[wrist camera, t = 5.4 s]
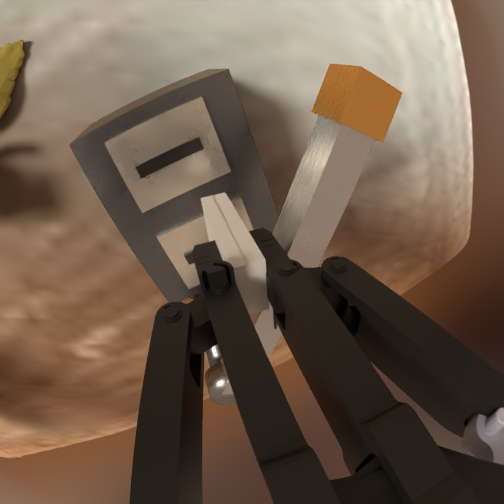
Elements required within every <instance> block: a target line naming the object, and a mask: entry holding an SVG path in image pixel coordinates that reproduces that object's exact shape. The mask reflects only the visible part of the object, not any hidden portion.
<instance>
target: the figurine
mask: <svg viewBox="0 0 504 504" xmlns="http://www.w3.org/2000/svg"><path fill="white" fill-rule="evenodd" d="M23 43H24V42H23V40H19V41H17V42H14V43H7V44H6V45H5V46H4V47H1V48H0V118H1V117H2V115H3V114H4V112H5V111H6V109H7V107H8V105H9V104H10V101H11V97H10V94H11V92H12V90H13V88H14V86H15V81H13V80H14V79H15V78H16V77H17V75H18V72H19V70H17V69H20V67H21V66H22V64H23V58H24V57H25V53H24V51H23Z"/></svg>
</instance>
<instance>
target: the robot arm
mask: <svg viewBox="0 0 504 504" xmlns="http://www.w3.org/2000/svg"><path fill="white" fill-rule="evenodd" d="M201 203H202V208H203V213H204V218H205V223H206V228H207V233H208V238H209V242H206V243H202V244H198V245H195V246H194V249H193V251H192V254H193V258H194V262H195V266H196V270H197V274H198V278H199V281H200V285H201V292H200V294H199V295H198V297H197V298H196V299H195V300H193V301H192V302H190V303H188V304H184V303H182V302H170V303H167V304H165V305H163V306H162V307H161V308H160V309H159V310H158V311H157V313H156V316H155V321H154V326H153V331H152V336H151V341H150V346H149V352H148V357H147V363H146V369H145V375H144V381H143V387H142V393H141V400H140V407H139V414H138V422H137V430H136V438H135V446H134V447H135V448H134V456H133V466H132V477H131V491H130V504H202V418H203V416H202V415H203V379H204V352H205V351H207V350H209V349H210V348H212V347H214V346H215V345H217V344H218V347H219V350H220V353H221V357H222V360H223V363H224V366H225V369H226V373H227V376H228V379H229V382H230V385H231V388H232V391H233V394H234V397H235V400H236V403H237V406H238V409H239V411H240V415H241V418H242V420H243V423H244V426H245V429H246V432H247V434H248V437H249V440H250V443H251V446H252V448H253V451H254V453H255V456H256V459H257V462H258V464H259V467H260V470H261V472H262V475H263V477H264V480H265V482H266V485H267V487H268V490H269V493H270V495H271V498H272V500H273V503H274V504H504V373H501V372H499V371H496V370H495V369H494V368H492V367H491V366H490V365H489V364H487V363H486V362H485V361H484V360H483V359H481V358H480V357H479V356H477V355H476V354H475V353H474V352H473V351H471V350H470V349H469V348H468V347H466V346H465V345H464V344H463V343H461V342H460V341H459V340H458V339H456V338H455V337H453V336H452V335H451V334H450V333H449V332H447V331H446V330H445V329H443V328H442V327H440V326H439V325H438V324H437V323H436V322H434V321H433V320H432V319H430V318H429V317H428V316H426V315H425V314H424V313H422V312H421V311H420V310H418V309H417V308H416V307H414V306H413V305H412V304H410V303H409V302H407V301H406V300H405V299H403V298H402V297H401V296H399V295H398V294H397V293H395V292H394V291H392V290H391V289H390V288H388V287H387V286H385V285H384V284H383V283H381V282H380V281H378V280H377V279H376V278H374V277H373V276H371V275H370V274H369V273H367V272H366V271H364V270H363V269H362V268H360V267H359V266H357V265H356V264H354V263H353V262H351V261H350V260H348V259H346V258H344V257H339V256H334V257H330V258H327V259H326V260H324V261H323V264H322V267H315V268H306V267H303V266H302V265H301V264H300V263H299V262H298V261H295V260H292V259H290V258H289V257H288V255H287V254H286V252H285V251H284V250H283V248H282V247H281V245H280V244H279V243H278V241H277V240H276V239H275V237H274V235H273V234H272V233H271V232H270V231H269V230H267V229H265V228H259V229H255V230H251V231H248V229H247V228H246V226H245V224H244V223H243V221H242V219H241V218H240V216H239V214H238V213H237V211H236V209H235V208H234V206H233V205H232V203H231V201H230V200H229V198H228V196H227V195H226V193H220V194H216V195H212V196H207V197H203V198H201ZM269 302H270V304H271V306H272V308H273V321H274V329H277V325H278V327H279V329H280V331H281V333H282V335H283V336H284V338H285V340H286V342H287V344H288V346H289V348H290V350H291V352H292V354H293V356H294V358H295V360H296V362H297V364H298V366H299V368H300V369H301V371H302V373H303V375H304V377H305V379H306V381H307V383H308V385H309V387H310V389H311V390H312V393H313V395H314V396H315V398H316V400H317V402H318V404H319V406H320V408H321V410H322V412H323V414H324V416H325V417H326V419H327V421H328V423H329V425H330V427H331V429H332V431H333V433H334V435H335V436H336V439H337V440H338V442H339V444H340V446H341V449H342V452H343V458H344V461H345V464H346V466H347V468H348V470H349V472H350V474H351V476H349V477H345V478H340V479H335V480H330V481H329V479H328V477H327V475H326V473H325V471H324V469H323V467H322V465H321V463H320V461H319V459H318V457H317V455H316V453H315V452H314V450H313V449H312V448H311V447H310V446H309V445H308V444H307V442H306V440H305V439H304V437H303V434H302V432H301V430H300V428H299V425H298V423H297V421H296V419H295V417H294V415H293V413H292V410H291V408H290V406H289V404H288V402H287V399H286V397H285V395H284V393H283V390H282V388H281V386H280V384H279V382H278V379H277V377H276V375H275V372H274V370H273V368H272V366H271V363H270V361H269V359H268V357H267V354H266V352H265V350H264V348H263V345H262V343H261V341H260V338H259V336H258V334H257V331H256V329H255V327H254V324H253V322H252V320H251V318H250V315H251V314H255V313H258V312H262V311H265V310H268V309H269ZM371 362H372V363H373V364H374V365H375V366H376V367H377V368H378V369H379V370H380V371H382V372H383V373H384V374H385V375H386V376H387V377H388V378H389V379H390V380H391V381H393V382H394V383H395V384H396V385H397V386H398V387H399V388H400V389H401V390H403V391H404V392H405V393H406V394H407V395H408V396H409V397H411V399H413V400H414V401H415V402H416V403H417V404H418V405H419V406H420V407H421V408H423V409H424V410H425V411H426V412H427V413H428V414H429V415H430V416H431V417H432V418H434V419H435V420H436V421H437V422H438V423H439V424H441V425H442V426H443V427H444V428H446V429H448V430H449V431H451V432H452V433H454V434H456V435H458V436H460V437H462V438H463V440H462V442H461V448H462V450H463V451H465V452H471V453H473V454H474V455H475V457H473V456H469V455H466V454H463V453H459V452H456V451H453V450H450V449H447V448H444V447H441V446H438V445H437V444H436V442H435V441H434V439H433V438H432V436H431V435H430V433H429V432H428V430H427V429H426V427H425V426H424V424H423V423H422V421H421V419H420V418H419V416H418V415H417V413H416V412H415V411H414V409H413V408H412V407H411V406H410V405H408V404H407V403H402V402H398V401H397V400H396V399H395V398H394V397H393V395H392V394H391V392H390V391H389V389H388V388H387V386H386V385H385V383H384V382H383V380H382V379H381V377H380V376H379V374H378V373H377V371H376V370H375V369H374V367H373V365H372V364H371Z"/></svg>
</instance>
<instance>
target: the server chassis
mask: <svg viewBox="0 0 504 504" xmlns="http://www.w3.org/2000/svg"><path fill="white" fill-rule="evenodd" d="M70 147H71V149H72V151H73V153H74V155H75V157H76V158H77V160H78V162H79V164H80V166H81V167H82V169H83V171H84V173H85V175H86V176H87V178H88V180H89V182H90V183H91V185H92V187H93V188H94V190H95V192H96V194H97V195H98V197H99V199H100V200H101V202H102V204H103V205H104V207H105V209H106V210H107V212H108V213H109V215H110V217H111V218H112V220H113V221H114V223H115V225H116V226H117V228H118V229H119V231H120V232H121V234H122V236H123V237H124V239H125V240H126V242H127V243H128V245H129V246H130V248H131V249H132V251H133V252H134V254H135V255H136V257H137V258H138V260H139V261H140V263H141V264H142V265H143V267H144V268H145V270H146V271H147V273H148V274H149V276H150V277H151V278H152V280H153V281H154V283H155V284H156V285H157V287H158V288H159V290H160V291H161V292H162V294H163V295H164V297H165V298H166V299H167V301H168V302H169V303H170V302H180V301H182V300H184V299H187V298H189V297H191V296H193V295H196V294H198V293H200V292H201V285H200V281H199V278H198V274H197V270H196V266H195V262H194V258H193V254H192V251H193V249H194V246H195V245H198V244H202V243H206V242H209V238H208V233H207V228H206V223H205V218H204V213H203V208H202V203H201V198H203V197H207V196H212V195H216V194H220V193H226V195H227V196H228V198H229V200H230V201H231V203H232V205H233V206H234V208H235V209H236V211H237V213H238V214H239V216H240V218H241V219H242V221H243V223H244V224H245V226H246V228H247V229H248V231H251V230H255V229H259V228H265V229H267V230H269V231H270V232H271V233H273V230H274V228H275V225H276V223H277V220H278V218H279V217H278V214H277V211H276V207H275V204H274V201H273V198H272V195H271V192H270V189H269V185H268V182H267V179H266V176H265V173H264V170H263V167H262V164H261V161H260V158H259V155H258V152H257V149H256V146H255V143H254V140H253V137H252V134H251V131H250V128H249V125H248V122H247V119H246V117H245V114H244V111H243V108H242V105H241V102H240V99H239V97H238V94H237V91H236V88H235V85H234V82H233V80H232V77H231V74H230V71H229V69H208V70H205V71H203V72H200V73H197V74H195V75H192V76H190V77H187V78H185V79H182V80H180V81H177V82H175V83H173V84H170V85H168V86H166V87H163V88H161V89H159V90H157V91H155V92H152V93H150V94H148V95H146V96H144V97H142V98H140V99H138V100H136V101H134V102H132V103H130V104H128V105H126V106H124V107H122V108H120V109H118V110H116V111H114V112H112V113H111V114H109V115H107V116H105V117H103V118H102V119H100V120H98V121H96V122H95V123H93V124H91V125H90V126H89V127H88V128H87V129H86V130H85V131H84V132H82V133H81V134H80V135H79V136H78V137H77V138H76V139H75V140H74V141H73V142H72V143H71V144H70Z"/></svg>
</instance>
